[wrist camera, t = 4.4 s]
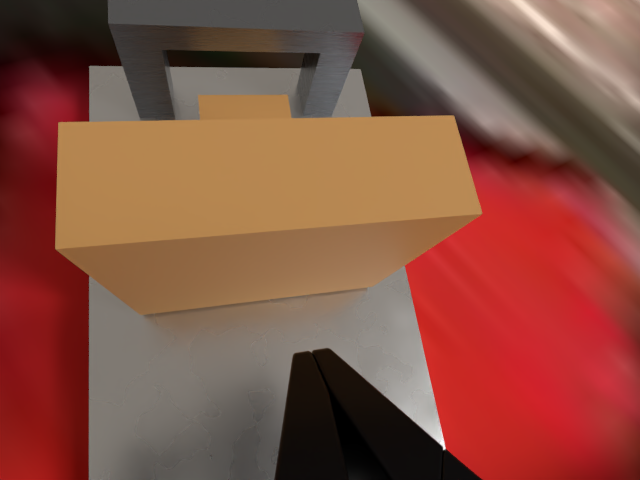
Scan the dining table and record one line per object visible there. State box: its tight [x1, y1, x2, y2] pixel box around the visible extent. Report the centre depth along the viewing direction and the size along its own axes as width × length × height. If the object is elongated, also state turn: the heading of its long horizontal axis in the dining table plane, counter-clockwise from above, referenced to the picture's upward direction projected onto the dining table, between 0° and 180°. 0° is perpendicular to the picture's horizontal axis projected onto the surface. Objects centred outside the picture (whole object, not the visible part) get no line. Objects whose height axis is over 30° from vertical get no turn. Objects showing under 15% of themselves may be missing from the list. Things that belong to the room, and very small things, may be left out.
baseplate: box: [89, 0, 446, 480], centre depth 16 cm, size 24×14×7 cm, turn 9°
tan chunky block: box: [55, 95, 482, 315], centre depth 15 cm, size 9×10×9 cm
